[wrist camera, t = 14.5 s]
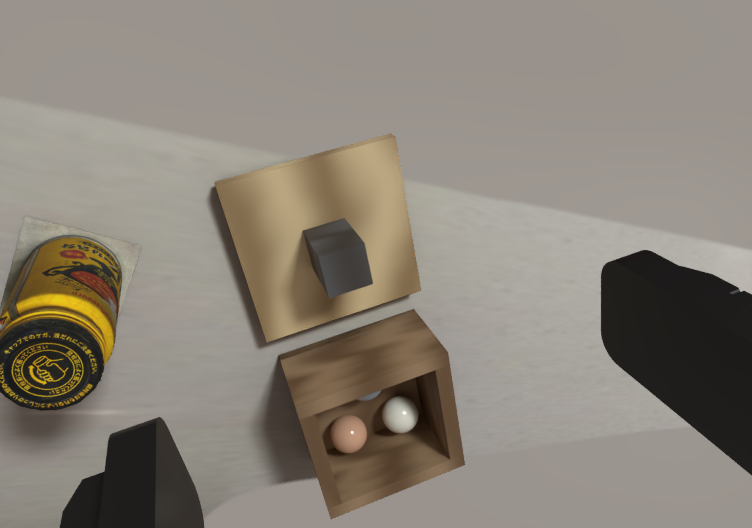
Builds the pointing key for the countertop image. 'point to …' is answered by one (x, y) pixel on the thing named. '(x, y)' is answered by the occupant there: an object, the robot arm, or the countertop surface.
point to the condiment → (61, 313)
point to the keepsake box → (376, 408)
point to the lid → (322, 235)
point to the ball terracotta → (348, 434)
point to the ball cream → (400, 414)
